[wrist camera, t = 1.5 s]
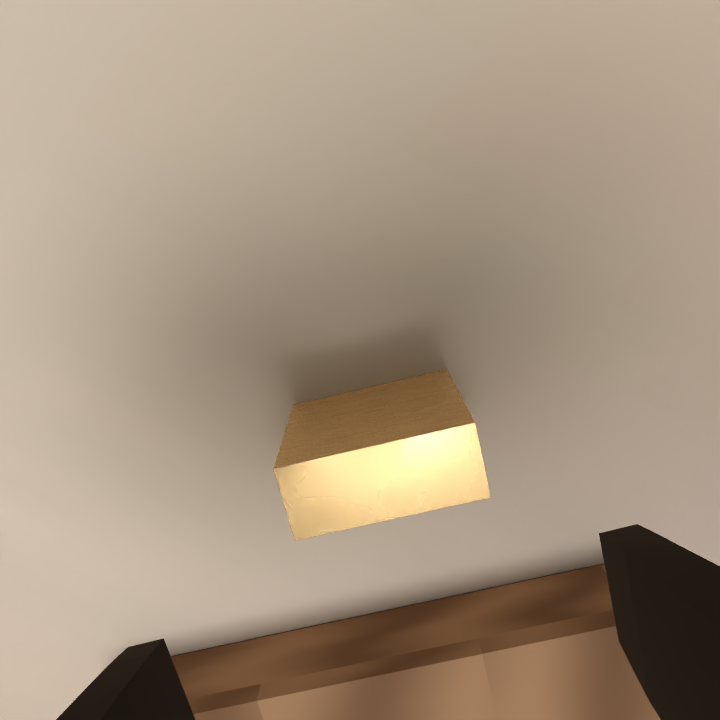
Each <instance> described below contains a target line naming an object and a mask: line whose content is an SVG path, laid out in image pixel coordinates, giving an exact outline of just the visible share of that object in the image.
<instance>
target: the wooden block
mask: <svg viewBox="0 0 720 720" xmlns="http://www.w3.org/2000/svg"><path fill="white" fill-rule="evenodd" d="M274 472H275V475H276V479H277V482H278V485H279V489H280V492H281V495H282V499H283V502H284V506H285V509H286V512H287V516H288V519H289V522H290V526H291V529H292V533H293V536H294V539H295V540H300V539H304V538H309V537H313V536H318V535H322V534H327V533H331V532H336V531H341V530H345V529H350V528H354V527H359V526H363V525H368V524H372V523H377V522H381V521H386V520H390V519H395V518H399V517H404V516H408V515H413V514H417V513H422V512H426V511H431V510H435V509H440V508H444V507H449V506H453V505H458V504H462V503H467V502H471V501H476V500H480V499H485V498H489V497H491V496H490V492H489V487H488V482H487V477H486V473H485V468H484V463H483V458H482V453H481V449H480V444H479V439H478V434H477V430H476V425H475V422H474V420H473V418H472V416H471V414H470V412H469V410H468V409H467V407H466V405H465V403H464V401H463V399H462V397H461V395H460V393H459V392H458V390H457V388H456V386H455V384H454V382H453V380H452V378H451V377H450V375H449V373H448V371H447V369H446V370H442V371H438V372H433V373H429V374H425V375H420V376H416V377H412V378H408V379H403V380H399V381H395V382H390V383H386V384H382V385H378V386H373V387H369V388H365V389H360V390H356V391H352V392H348V393H343V394H339V395H335V396H330V397H326V398H322V399H318V400H313V401H309V402H305V403H300V404H296V405H293V408H292V412H291V415H290V418H289V421H288V424H287V428H286V431H285V434H284V437H283V440H282V443H281V447H280V450H279V453H278V456H277V459H276V463H275V466H274Z"/></svg>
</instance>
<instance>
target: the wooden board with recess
mask: <svg viewBox="0 0 720 720" xmlns="http://www.w3.org/2000/svg"><path fill="white" fill-rule="evenodd" d="M171 659H172V661H173V664H174V666H175V669H176V671H177V674H178V676H179V679H180V682H181V684H182V687H183V689H184V692H185V694H186V697H187V699H188V702H189V704H190V707H191V709H192V712H193V715H194V717H195V720H661V719H660V717H659V716H658V714H657V713H656V711H655V710H654V708H653V707H652V705H651V703H650V702H649V700H648V698H647V696H646V694H645V692H644V690H643V688H642V686H641V684H640V682H639V681H638V679H637V677H636V675H635V673H634V671H633V669H632V667H631V665H630V663H629V661H628V659H627V657H626V655H625V653H624V651H623V649H622V647H621V645H620V643H619V640H618V634H617V629H616V623H615V618H614V612H613V607H612V601H611V596H610V591H609V585H608V580H607V574H606V569H605V564H602V565H597V566H593V567H588V568H583V569H579V570H574V571H569V572H565V573H560V574H555V575H551V576H546V577H541V578H537V579H532V580H527V581H523V582H518V583H513V584H509V585H504V586H499V587H495V588H490V589H485V590H481V591H476V592H471V593H467V594H462V595H457V596H453V597H448V598H443V599H439V600H434V601H429V602H425V603H420V604H415V605H411V606H406V607H401V608H397V609H392V610H387V611H383V612H378V613H373V614H369V615H364V616H359V617H355V618H350V619H345V620H341V621H336V622H331V623H327V624H322V625H317V626H313V627H308V628H303V629H299V630H294V631H289V632H285V633H280V634H275V635H271V636H266V637H261V638H257V639H252V640H247V641H242V642H238V643H233V644H228V645H224V646H219V647H214V648H210V649H205V650H200V651H196V652H191V653H186V654H182V655H177V656H172V657H171Z"/></svg>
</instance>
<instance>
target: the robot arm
mask: <svg viewBox="0 0 720 720" xmlns="http://www.w3.org/2000/svg"><path fill="white" fill-rule="evenodd" d="M599 536H600V541H601V547H602V552H603V558H604V563H605V569H606V574H607V580H608V585H609V591H610V596H611V601H612V607H613V612H614V618H615V623H616V629H617V634H618V640H619V643H620V645H621V647H622V649H623V651H624V653H625V655H626V657H627V659H628V661H629V663H630V665H631V667H632V669H633V671H634V673H635V675H636V677H637V679H638V681H639V682H640V684H641V686H642V688H643V690H644V692H645V694H646V696H647V698H648V700H649V702H650V703H651V705H652V707H653V708H654V710H655V711H656V713H657V714H658V716H659V717H660V719H661V720H720V566H718V565H716V564H714V563H712V562H710V561H708V560H706V559H704V558H702V557H700V556H698V555H696V554H695V553H693V552H691V551H689V550H687V549H685V548H683V547H681V546H679V545H677V544H675V543H673V542H671V541H670V540H668V539H666V538H664V537H662V536H660V535H658V534H656V533H654V532H652V531H650V530H648V529H646V528H644V527H642V526H640V525H638V524H636V525H632V526H628V527H624V528H620V529H616V530H611V531H607V532H603V533H599ZM56 720H195V717H194V715H193V712H192V709H191V707H190V704H189V702H188V699H187V697H186V694H185V692H184V689H183V687H182V684H181V682H180V679H179V676H178V674H177V671H176V669H175V666H174V664H173V661H172V659H171V656H170V654H169V651H168V648H167V646H166V643H165V641H164V639H160V640H156V641H152V642H148V643H144V644H139V645H135V646H131V647H128V648H127V649H126V650H124V651H123V652H122V653H121V654H120V655H119V656H118V657H117V658H116V659H115V660H114V661H113V662H112V663H110V664H109V665H108V666H107V667H106V668H105V669H104V670H103V671H102V673H101V674H100V675H99V676H98V677H97V678H96V679H95V680H94V681H93V682H92V683H91V684H90V685H89V686H88V687H87V688H86V689H85V690H84V691H83V692H82V693H81V694H80V695H79V696H78V697H77V698H76V700H75V701H74V702H73V703H72V704H71V705H70V706H69V707H68V708H67V709H66V710H65V711H64V712H63V713H62V714H61V715H60V716H59V717H58V718H57V719H56Z"/></svg>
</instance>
